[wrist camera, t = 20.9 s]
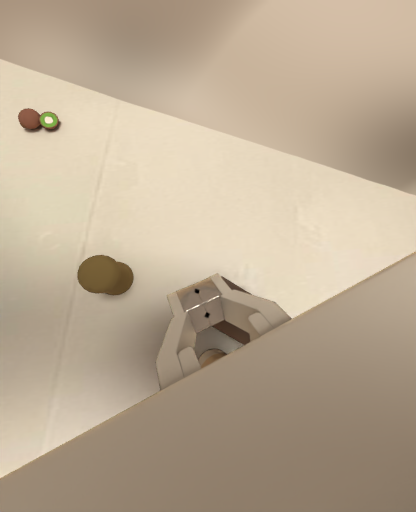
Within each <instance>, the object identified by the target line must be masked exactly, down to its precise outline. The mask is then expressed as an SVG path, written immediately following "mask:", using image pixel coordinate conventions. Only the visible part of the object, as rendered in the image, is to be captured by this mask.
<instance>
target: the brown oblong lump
mask: <svg viewBox="0 0 416 512" xmlns="http://www.w3.org/2000/svg"><path fill="white" fill-rule="evenodd" d="M78 281H79V283H80V285H81V286H82V287H83V288H84V289H85V290H87V291H89V292H92V293H107V294H111V295H119V294H122V293H124V292H126V291H127V290H128V289H129V288H130V286H131V285H132V282H133V273H132V270H131V269H130V268H129V266H128V265H126V264H124V263H121V262H116V261H115V260H114V259H112V258H110V257H109V256H104V255H96V256H92V257H90V258H88V259H86V260H85V261H84V262H83V263H82V264H81V265H80V267H79V270H78Z"/></svg>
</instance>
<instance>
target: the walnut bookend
mask: <svg viewBox="0 0 416 512" xmlns="http://www.w3.org/2000/svg"><path fill="white" fill-rule="evenodd" d="M221 278H222V279H223V280H224V281H225V283H226V284H227V285H228V286H229V288H230V289H231V290H234V289H235V290H238V291H241V292H244V293H247V294H250V293H248V292H247V291H245V290H243V289H242V288H240V287H238V286H237V285H235V284H234V283H232V282H230V281H229V280H227V279H225V278H224V277H221ZM212 327H214V328H216V329H218V330H219V331H221V332H223V333H225V334H226V335H228V336H230V337H232V338H233V339H235V340H237V341H238V342H240V343H242V344H244V345H246V344H247V343H249V342H250V333H248V332H246V331H244V330H242V329H240V328H239V327H237V326H235V325H233V324H231V323H229V322H227V321H226V320H223V321H221V322H219V323H217V324H214V325H212Z"/></svg>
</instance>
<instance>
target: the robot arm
mask: <svg viewBox="0 0 416 512" xmlns="http://www.w3.org/2000/svg"><path fill="white" fill-rule="evenodd" d="M167 299H168V302H169V304H170V307H171V310H172V313H173V316H174V317H173V318H171V321H170V323H169V326H168V329H167V332H166V334H165V337H164V340H163V343H162V346H161V348H160V351H159V354H158V357H157V359H156V362H155V363H156V369H157V374H158V379H159V385H160V390H161V391H159V392H158V393H156V394H154V395H152V396H150V397H148V398H147V399H145V400H143V401H141V402H139V403H137V404H136V405H134V406H132V407H130V408H128V409H126V410H125V411H123V412H121V413H119V414H117V415H115V416H114V417H112V418H110V419H108V420H106V421H104V422H103V423H101V424H99V425H97V426H95V427H93V428H92V429H90V430H88V431H86V432H84V433H82V434H81V435H79V436H77V437H75V438H73V439H71V440H70V441H68V442H66V443H64V444H62V445H60V446H59V447H57V448H55V449H53V450H51V451H49V452H48V453H46V454H44V455H42V456H40V457H38V458H37V459H35V460H33V461H31V462H29V463H27V464H26V465H24V466H22V467H20V468H18V469H16V470H15V471H13V472H11V473H9V474H7V475H5V476H4V477H2V478H0V512H416V252H414V253H412V254H410V255H408V256H407V257H405V258H403V259H401V260H399V261H397V262H396V263H394V264H392V265H390V266H388V267H386V268H385V269H383V270H381V271H379V272H377V273H375V274H374V275H372V276H370V277H368V278H366V279H364V280H363V281H361V282H359V283H357V284H355V285H353V286H352V287H350V288H348V289H346V290H344V291H342V292H341V293H339V294H337V295H335V296H333V297H331V298H330V299H328V300H326V301H324V302H322V303H320V304H319V305H317V306H315V307H313V308H311V309H310V310H308V311H306V312H304V313H302V314H300V315H299V316H297V317H295V318H293V319H292V318H291V317H290V316H288V315H287V314H286V313H285V312H284V311H283V310H282V309H281V308H280V307H279V306H278V305H277V304H276V303H275V302H273V301H270V300H267V299H263V298H260V297H257V296H254V295H251V294H247V293H244V292H241V291H238V290H235V289H234V290H231V289H230V288H229V286H228V285H227V284H226V283H225V281H224V280H223V279H222V278H221V277H220V275H219V274H215V275H213V276H210V277H209V278H206V279H204V280H202V281H200V282H197V283H195V284H193V285H190V286H188V287H185V288H183V289H180V290H178V291H176V292H173V293H171V294H169V295H167ZM223 320H226V321H227V322H229V323H231V324H233V325H235V326H237V327H239V328H240V329H242V330H244V331H246V332H248V333H250V342H249V343H247V344H246V345H244V346H242V347H240V348H238V349H236V350H235V351H233V352H231V353H229V354H227V355H225V356H224V357H222V358H220V359H218V360H216V361H214V362H213V363H211V364H209V365H207V366H205V367H203V368H201V366H200V364H199V361H198V359H197V356H196V354H195V352H194V348H195V342H196V334H197V333H199V332H201V331H203V330H204V329H206V328H208V327H210V326H212V325H214V324H217V323H219V322H221V321H223Z"/></svg>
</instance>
